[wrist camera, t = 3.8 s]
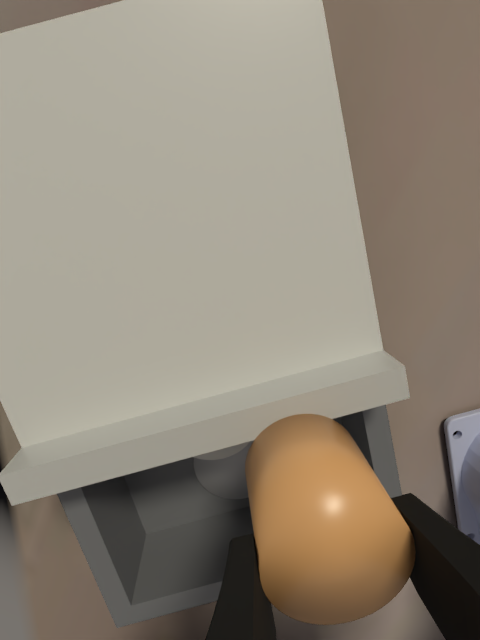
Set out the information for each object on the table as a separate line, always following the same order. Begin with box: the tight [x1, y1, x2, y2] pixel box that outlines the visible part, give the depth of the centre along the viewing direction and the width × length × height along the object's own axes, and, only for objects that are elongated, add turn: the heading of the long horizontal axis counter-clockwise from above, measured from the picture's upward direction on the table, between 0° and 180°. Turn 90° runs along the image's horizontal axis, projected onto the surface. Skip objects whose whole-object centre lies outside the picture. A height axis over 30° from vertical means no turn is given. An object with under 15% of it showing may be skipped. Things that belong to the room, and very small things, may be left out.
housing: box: [57, 405, 402, 628], centre depth 19 cm, size 14×14×5 cm
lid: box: [0, 0, 410, 506], centre depth 13 cm, size 14×14×2 cm
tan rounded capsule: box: [245, 414, 416, 625], centre depth 12 cm, size 4×4×4 cm
